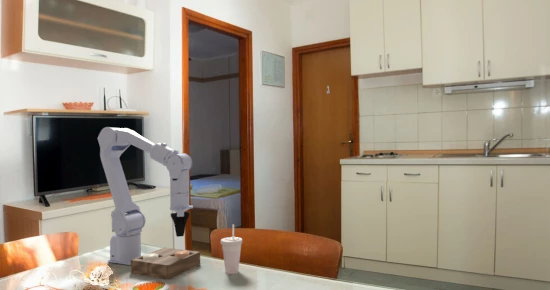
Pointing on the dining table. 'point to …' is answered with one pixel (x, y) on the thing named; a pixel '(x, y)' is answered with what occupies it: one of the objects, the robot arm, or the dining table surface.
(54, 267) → the dining table surface
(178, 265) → the wooden egg crate
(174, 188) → the robot arm
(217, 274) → the dining table surface
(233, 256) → the smoothie
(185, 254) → the peach egg
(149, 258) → the knob cream
